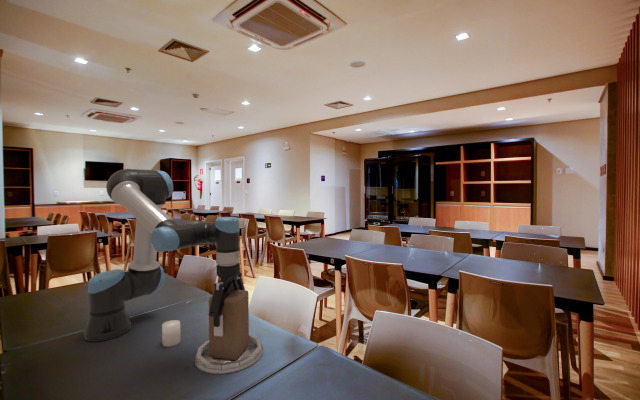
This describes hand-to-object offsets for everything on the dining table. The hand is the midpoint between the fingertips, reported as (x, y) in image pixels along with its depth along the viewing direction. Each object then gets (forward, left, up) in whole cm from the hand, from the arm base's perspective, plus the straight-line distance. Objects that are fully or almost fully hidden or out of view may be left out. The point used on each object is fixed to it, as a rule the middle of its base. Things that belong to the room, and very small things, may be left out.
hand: (229, 326), depth 102 cm
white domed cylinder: (-25, +3, -10) cm, 27 cm away
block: (0, 0, -9) cm, 9 cm away
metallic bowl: (0, 0, -10) cm, 10 cm away
